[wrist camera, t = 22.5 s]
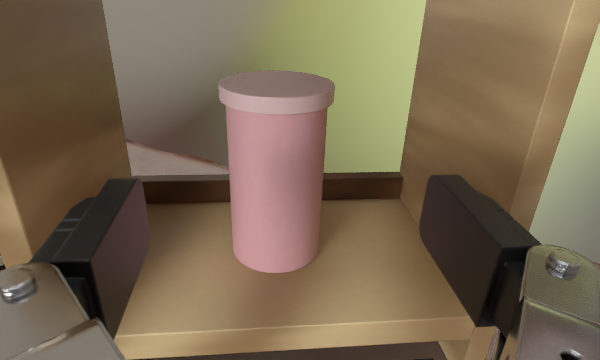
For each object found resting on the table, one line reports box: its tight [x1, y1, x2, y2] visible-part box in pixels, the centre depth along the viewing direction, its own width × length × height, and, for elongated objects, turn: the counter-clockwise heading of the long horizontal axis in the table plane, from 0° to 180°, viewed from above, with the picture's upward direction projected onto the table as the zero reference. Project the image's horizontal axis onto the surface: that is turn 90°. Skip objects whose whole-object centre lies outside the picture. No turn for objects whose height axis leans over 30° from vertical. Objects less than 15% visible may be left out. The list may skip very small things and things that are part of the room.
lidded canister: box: [218, 71, 335, 273], centre depth 23 cm, size 6×6×10 cm
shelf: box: [0, 0, 600, 360], centre depth 22 cm, size 22×13×24 cm, turn 96°
